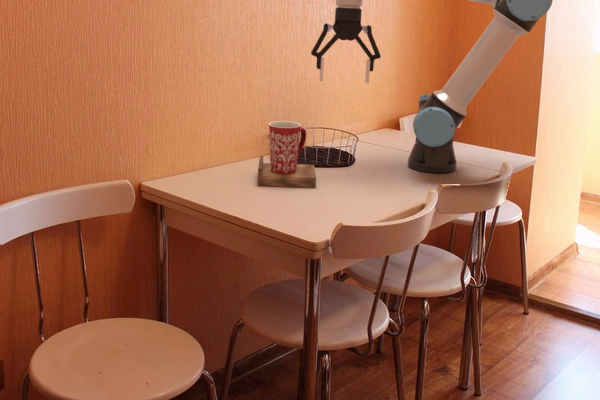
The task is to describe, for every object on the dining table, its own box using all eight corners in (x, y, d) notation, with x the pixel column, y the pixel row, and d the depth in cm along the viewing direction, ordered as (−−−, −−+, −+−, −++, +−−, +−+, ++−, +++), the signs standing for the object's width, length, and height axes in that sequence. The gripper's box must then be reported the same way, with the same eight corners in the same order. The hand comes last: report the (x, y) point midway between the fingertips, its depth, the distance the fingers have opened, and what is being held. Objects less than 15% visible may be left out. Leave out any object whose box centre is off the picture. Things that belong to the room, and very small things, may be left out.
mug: (282, 176, 192) (283, 128, 188) (260, 169, 199) (262, 122, 194) (314, 170, 201) (317, 123, 197) (293, 163, 207) (295, 118, 203)
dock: (313, 174, 207) (314, 158, 206) (315, 188, 194) (316, 170, 192) (259, 172, 207) (259, 156, 205) (257, 186, 193) (258, 168, 192)
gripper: (390, 8, 205) (384, 81, 211) (304, 4, 204) (301, 77, 210) (393, 9, 197) (387, 84, 204) (305, 5, 197) (302, 81, 203)
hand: (344, 81), depth 207 cm, fingers open, 13 cm apart
